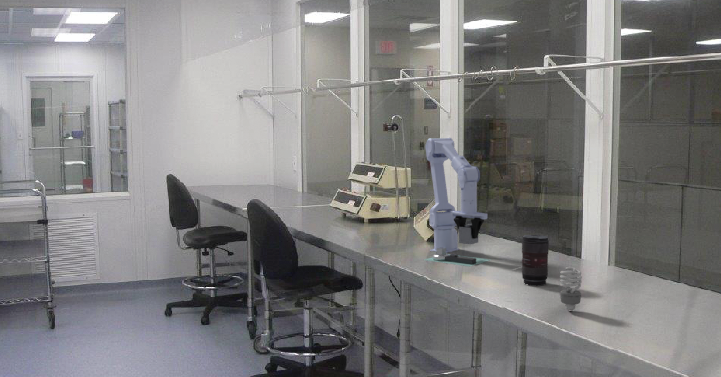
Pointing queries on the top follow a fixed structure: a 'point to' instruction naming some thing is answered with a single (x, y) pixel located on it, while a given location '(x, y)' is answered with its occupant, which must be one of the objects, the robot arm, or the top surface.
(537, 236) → the camera lens
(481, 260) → the mat
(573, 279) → the light bulb
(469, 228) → the socket
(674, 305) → the top surface
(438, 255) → the metal vise
